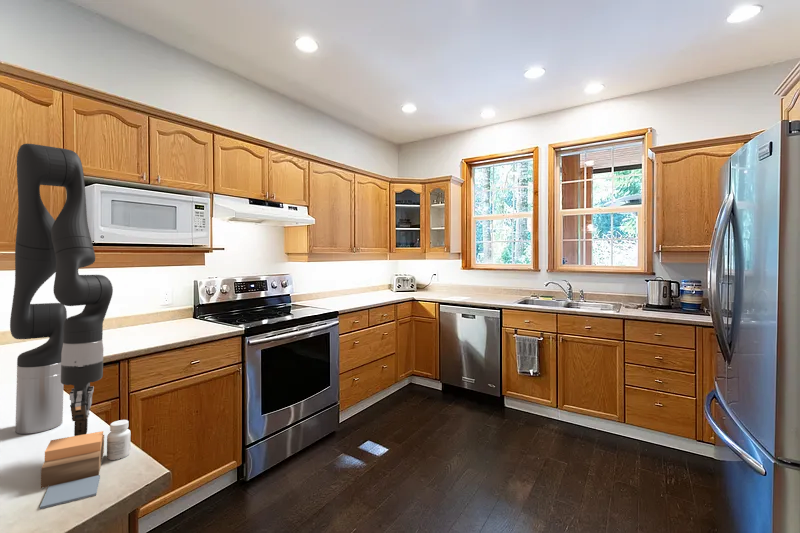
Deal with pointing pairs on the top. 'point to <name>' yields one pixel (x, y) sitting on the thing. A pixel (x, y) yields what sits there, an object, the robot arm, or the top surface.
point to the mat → (70, 491)
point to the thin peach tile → (74, 446)
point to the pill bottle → (118, 440)
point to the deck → (71, 468)
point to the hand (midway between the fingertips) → (80, 434)
